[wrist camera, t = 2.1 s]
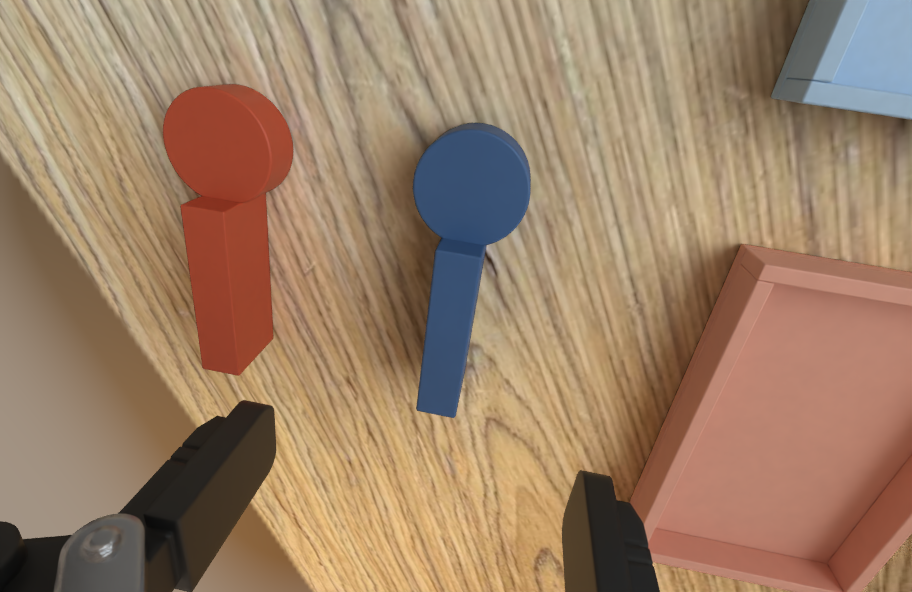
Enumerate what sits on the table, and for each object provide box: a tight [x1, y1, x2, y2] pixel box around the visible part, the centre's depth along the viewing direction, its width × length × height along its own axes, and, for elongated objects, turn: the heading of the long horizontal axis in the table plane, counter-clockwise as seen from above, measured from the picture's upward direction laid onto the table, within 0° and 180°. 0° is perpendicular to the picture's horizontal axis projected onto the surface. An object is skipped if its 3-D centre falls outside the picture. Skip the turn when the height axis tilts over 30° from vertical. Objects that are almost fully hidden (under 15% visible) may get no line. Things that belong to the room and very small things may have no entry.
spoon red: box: [163, 84, 293, 375], centre depth 19 cm, size 11×4×3 cm, turn 173°
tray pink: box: [629, 244, 912, 592], centre depth 20 cm, size 15×10×2 cm
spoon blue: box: [413, 123, 530, 418], centre depth 18 cm, size 11×4×3 cm, turn 173°
